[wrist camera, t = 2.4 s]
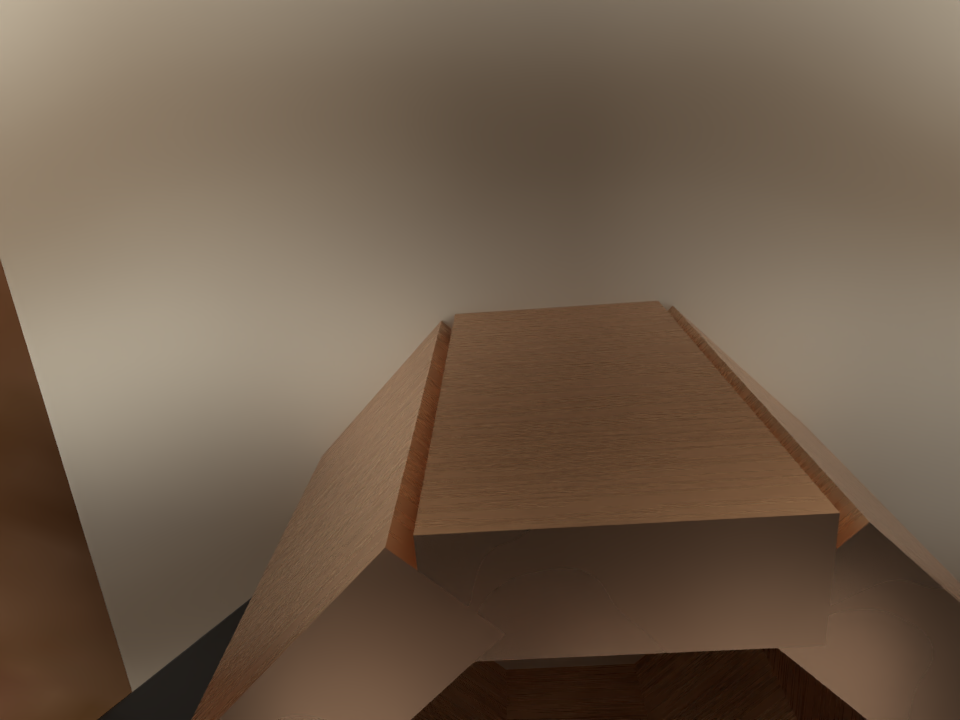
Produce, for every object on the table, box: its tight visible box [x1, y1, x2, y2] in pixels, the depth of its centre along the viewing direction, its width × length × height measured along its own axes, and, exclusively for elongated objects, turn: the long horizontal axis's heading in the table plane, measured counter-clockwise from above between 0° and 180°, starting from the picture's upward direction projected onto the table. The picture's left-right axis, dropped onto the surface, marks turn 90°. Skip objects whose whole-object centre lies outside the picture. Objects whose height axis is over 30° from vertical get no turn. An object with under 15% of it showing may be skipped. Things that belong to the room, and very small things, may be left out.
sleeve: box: [191, 301, 960, 720], centre depth 8 cm, size 7×7×5 cm
